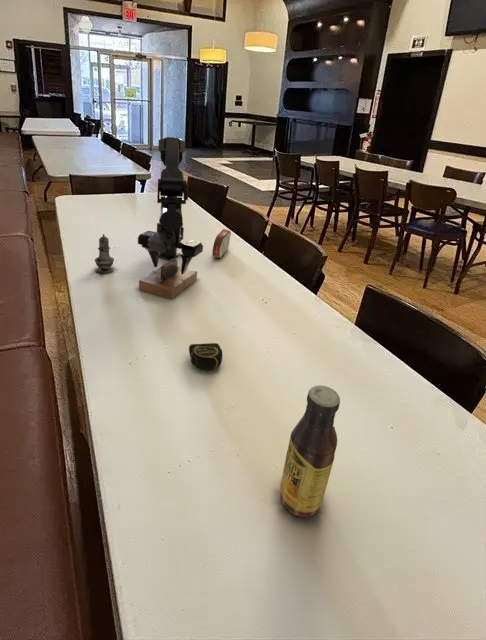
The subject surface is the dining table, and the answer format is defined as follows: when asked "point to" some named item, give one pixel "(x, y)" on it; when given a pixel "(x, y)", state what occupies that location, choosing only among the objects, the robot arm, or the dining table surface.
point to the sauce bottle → (310, 454)
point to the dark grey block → (169, 269)
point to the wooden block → (167, 282)
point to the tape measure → (206, 355)
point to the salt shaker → (104, 257)
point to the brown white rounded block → (221, 243)
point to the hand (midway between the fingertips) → (169, 270)
